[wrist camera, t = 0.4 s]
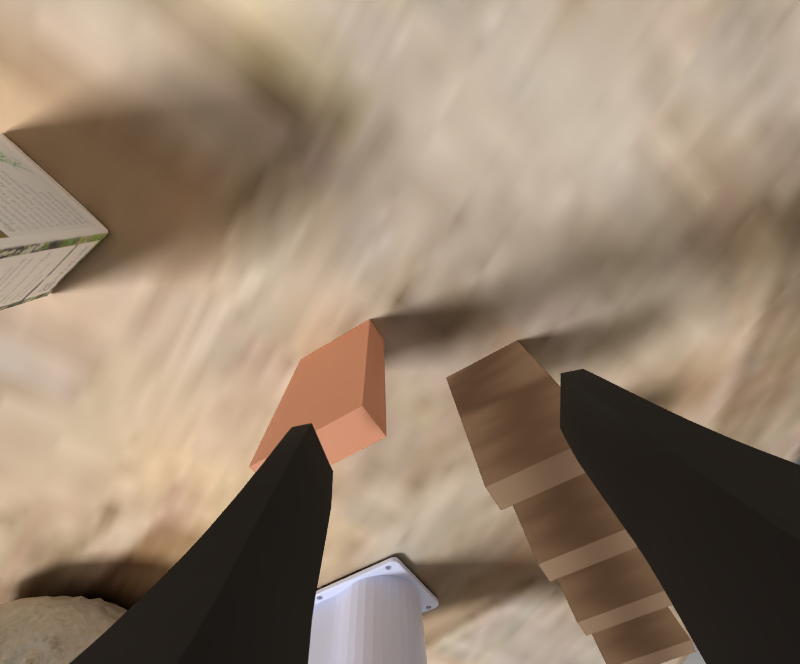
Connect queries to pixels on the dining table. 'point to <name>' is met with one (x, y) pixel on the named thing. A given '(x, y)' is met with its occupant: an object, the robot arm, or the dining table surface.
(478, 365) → the domino
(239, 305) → the dining table surface
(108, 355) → the dining table surface
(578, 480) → the wooden block
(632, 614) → the domino
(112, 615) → the grey rounded lump
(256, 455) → the terracotta domino
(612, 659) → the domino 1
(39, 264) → the syrup box
